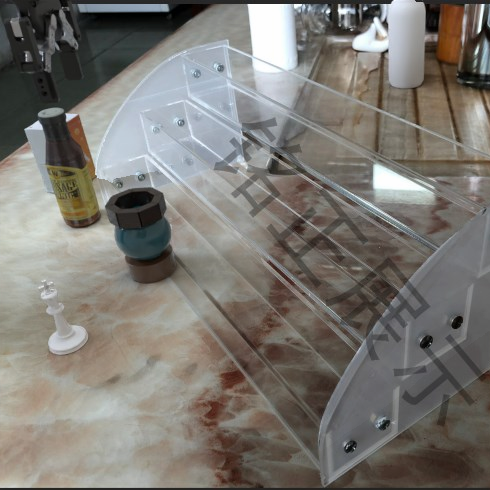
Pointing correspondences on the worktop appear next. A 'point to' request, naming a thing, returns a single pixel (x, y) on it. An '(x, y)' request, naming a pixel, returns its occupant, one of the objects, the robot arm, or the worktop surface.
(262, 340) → the worktop surface
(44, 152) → the small box
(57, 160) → the sauce bottle
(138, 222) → the walnut ring
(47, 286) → the chess piece
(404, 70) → the white plastic bottle
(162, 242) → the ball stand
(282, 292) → the worktop surface
